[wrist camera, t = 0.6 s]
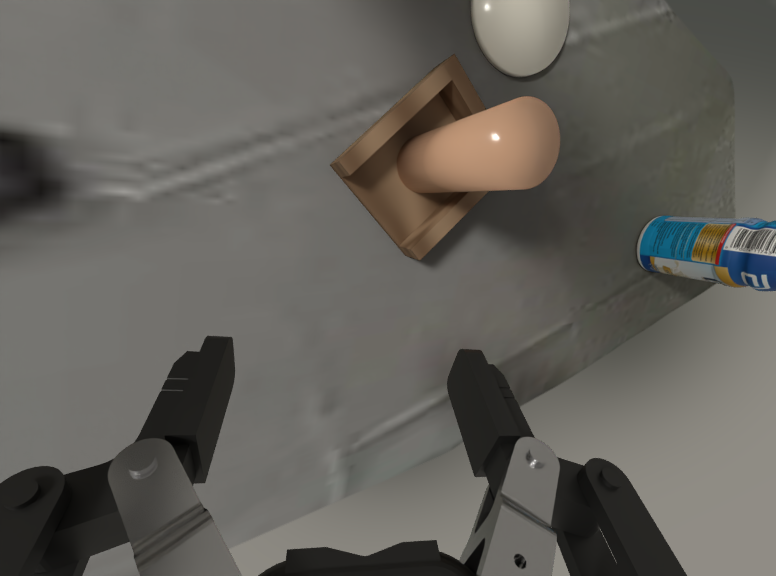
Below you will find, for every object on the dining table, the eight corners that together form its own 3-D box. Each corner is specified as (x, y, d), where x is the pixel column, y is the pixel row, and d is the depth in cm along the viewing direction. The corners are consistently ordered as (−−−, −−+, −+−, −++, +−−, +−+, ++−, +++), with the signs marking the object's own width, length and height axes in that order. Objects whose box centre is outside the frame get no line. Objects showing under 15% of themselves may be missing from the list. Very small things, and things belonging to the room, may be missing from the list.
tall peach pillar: (419, 204, 38) (517, 207, 24) (385, 160, 35) (474, 135, 22) (468, 155, 38) (591, 131, 25) (439, 109, 36) (557, 54, 22)
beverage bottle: (671, 205, 53) (895, 209, 35) (674, 258, 56) (881, 286, 37) (631, 227, 51) (846, 242, 32) (635, 280, 53) (836, 321, 35)
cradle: (405, 255, 39) (419, 260, 36) (329, 164, 34) (338, 161, 31) (494, 166, 40) (516, 163, 37) (435, 67, 36) (454, 53, 32)
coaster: (463, -59, 34) (468, -64, 33) (561, -57, 37) (568, -62, 37) (477, 82, 38) (481, 80, 37) (565, 72, 41) (571, 69, 40)
